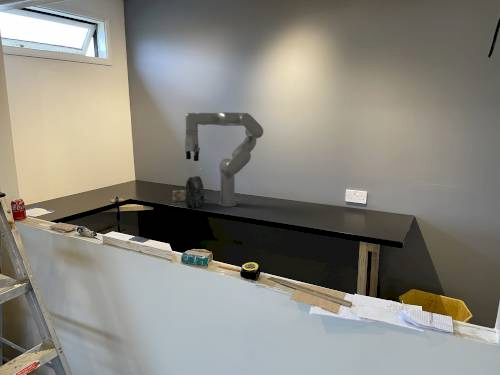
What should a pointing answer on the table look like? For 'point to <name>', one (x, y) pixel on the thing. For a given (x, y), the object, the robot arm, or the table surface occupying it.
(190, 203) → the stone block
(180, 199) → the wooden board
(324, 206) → the table surface
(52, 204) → the table surface
